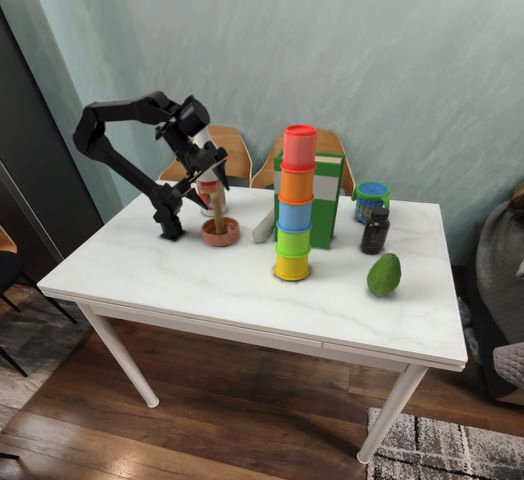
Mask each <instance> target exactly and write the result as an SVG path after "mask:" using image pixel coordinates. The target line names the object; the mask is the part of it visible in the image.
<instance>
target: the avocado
mask: <svg viewBox="0 0 524 480" xmlns="http://www.w3.org/2000/svg"><path fill="white" fill-rule="evenodd" d="M401 278H402V267H401V260H400V258H399V257H398V255H397V254H396V253H393V252H386V253H384V254H382V255H381V256H380V257H379V258H378V259H377V260H376V262H375V263H374V264H372V266H371V267H370V269H369V270H368V273H367V276H366V284H367V288H368V289H369V291H370V293H371V294H372V295H375V296H378V297H384V296H387V295H389V294H391V293H392V292H394V291H395V289H397V288H398V286H399V284H400V282H401Z"/></svg>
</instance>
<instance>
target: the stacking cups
mask: <svg viewBox="0 0 524 480" xmlns="http://www.w3.org/2000/svg"><path fill="white" fill-rule="evenodd" d="M317 139H318V132H317V128H316V127H315V126H313V125H309V124H293V125H288V126H286V128H285V131H284V132H283V147H282V149H283V162H282V163H281V164H280V167H281V169H282V171H281V192H280V193H279V195H278V199H279V200H280V204H279V220H278V221H277V227H278V241H277V243H276V244H275V246H274V250H275V252H276V264H275V266H274V268H273V270H274V274H275V275H276V277H278V278H280V279H281V280H284V281H293V282H295V281H300V280H302V279H305V278H306V277H308V275H309V274H310V266H309V253H311V250H312V247H311V246H310V245H309V236H310V229H311V227H312V222H311V208H312V201H313V200H314V194H313V193H312V191H313V179H314V170H315V169H316V164H315V152H317Z"/></svg>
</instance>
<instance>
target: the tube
mask: <svg viewBox="0 0 524 480" xmlns="http://www.w3.org/2000/svg"><path fill="white" fill-rule="evenodd" d="M274 230H275V228H274V207H272V209H270V210H269V212H268V213H267V214H266V215H265V216H264V217H263V219H262V220H261V221H260V222H259V224H257V226H256V227H255V228H254V229H253V230H252V238H253V240H254V241H255V242H256V243H264V241H266V239H267V238H268V237H269V236H270V235H271V233H272V232H273V231H274Z"/></svg>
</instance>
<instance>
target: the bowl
mask: <svg viewBox="0 0 524 480" xmlns="http://www.w3.org/2000/svg"><path fill="white" fill-rule="evenodd" d="M223 221H224V228H225V229H226V230H227V232H228V234H225V235H214V231H215V230H216V226H215V220H214V217H212V218H210V219H207V220H206V221H204V222H203V223H202V225H201V227H200V228H201V229H200V230H201V235H202V239H203V241H204V242H205V243H206V244H208V245H209V246H214V247H225V246H229V245H231V244H234V243H235V242H237V241H238V239H239V238H240V236H241V232H240V231H241V230H240V223H239V221H238V220H237V219H236V218H233V217H229V216H223Z"/></svg>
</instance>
